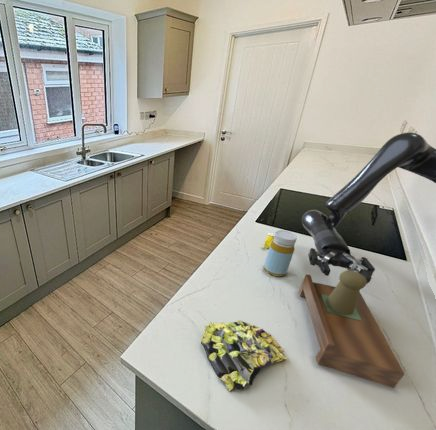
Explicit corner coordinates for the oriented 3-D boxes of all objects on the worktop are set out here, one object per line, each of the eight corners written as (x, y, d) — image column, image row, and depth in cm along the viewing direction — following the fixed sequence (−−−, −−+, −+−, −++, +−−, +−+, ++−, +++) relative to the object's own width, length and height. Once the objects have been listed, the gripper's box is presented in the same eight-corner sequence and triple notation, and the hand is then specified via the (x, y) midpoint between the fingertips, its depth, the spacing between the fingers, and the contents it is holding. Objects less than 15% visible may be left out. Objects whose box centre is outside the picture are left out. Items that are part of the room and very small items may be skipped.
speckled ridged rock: (256, 322, 75) (269, 310, 70) (292, 388, 63) (310, 379, 58) (192, 325, 70) (202, 313, 66) (218, 396, 58) (231, 387, 54)
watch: (268, 251, 104) (272, 238, 101) (261, 248, 106) (264, 235, 103) (274, 245, 107) (278, 232, 105) (267, 242, 109) (270, 230, 106)
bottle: (288, 270, 93) (300, 234, 86) (282, 280, 89) (295, 242, 82) (266, 262, 98) (277, 227, 91) (260, 271, 93) (271, 235, 86)
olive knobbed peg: (352, 303, 72) (368, 271, 67) (355, 318, 68) (373, 285, 63) (325, 294, 75) (339, 264, 70) (326, 308, 71) (341, 277, 66)
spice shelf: (353, 304, 79) (363, 285, 75) (394, 387, 57) (410, 366, 54) (298, 292, 84) (305, 273, 80) (317, 364, 62) (328, 343, 59)
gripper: (307, 231, 84) (320, 260, 71) (363, 240, 79) (387, 272, 66) (300, 250, 88) (311, 281, 75) (353, 260, 83) (374, 294, 69)
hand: (347, 277), depth 70 cm, fingers open, 8 cm apart
